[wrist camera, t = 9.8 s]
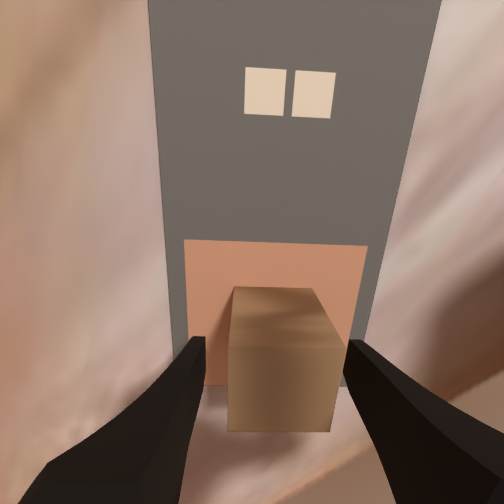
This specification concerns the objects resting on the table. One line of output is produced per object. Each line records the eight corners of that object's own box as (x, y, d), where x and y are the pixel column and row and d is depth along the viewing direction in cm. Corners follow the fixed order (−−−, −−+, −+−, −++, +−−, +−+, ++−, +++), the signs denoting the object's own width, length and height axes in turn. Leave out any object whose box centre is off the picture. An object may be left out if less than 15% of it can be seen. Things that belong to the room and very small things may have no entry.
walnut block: (312, 288, 14) (346, 348, 9) (303, 351, 15) (329, 432, 11) (234, 286, 14) (228, 346, 9) (233, 350, 15) (227, 431, 10)
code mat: (445, -37, 10) (452, -45, 9) (351, 382, 17) (353, 387, 16) (146, -62, 9) (142, -71, 9) (176, 380, 16) (175, 384, 16)
